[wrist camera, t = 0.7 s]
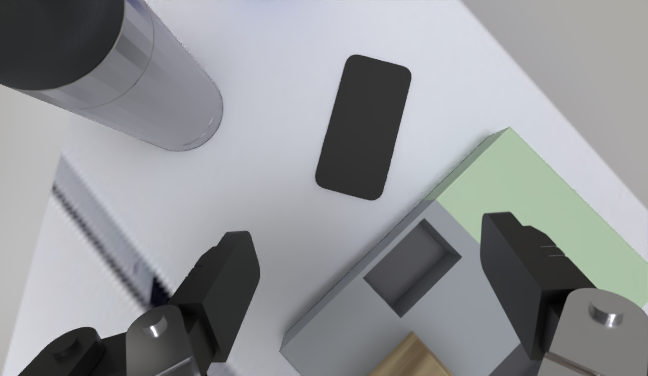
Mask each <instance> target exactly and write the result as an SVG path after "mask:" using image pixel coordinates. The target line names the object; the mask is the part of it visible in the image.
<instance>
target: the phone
mask: <svg viewBox="0 0 648 376" xmlns="http://www.w3.org/2000/svg"><path fill="white" fill-rule="evenodd" d="M410 82H411V72H410V71H409V69H407V68H406V67H404V66H400V65H397V64H393V63H389V62H385V61H381V60H377V59H373V58H370V57H366V56H362V55H352V56H350V57H349V58H348V59H347V61H346V64H345V67H344V71H343V75H342V78H341V82H340V86H339V90H338V93H337V97H336V101H335V104H334V108H333V112H332V115H331V119H330V123H329V126H328V130H327V134H326V136H325V140H324V143H323V147H322V152H321V156H320V159H319V163H318V167H317V171H316V176H315V178H316V182H317V184H318V185H319V186H321V187H322V188H325V189H329V190H333V191H336V192H340V193H344V194H347V195H351V196H355V197H359V198H363V199H367V200H376V199H378V198H379V197H380V196H381V195H382V192H383V189H384V185H385V182H386V179H387V174H388V171H389V167H390V163H391V158H392V155H393V151H394V146H395V142H396V138H397V134H398V130H399V126H400V122H401V118H402V114H403V110H404V106H405V102H406V98H407V94H408V90H409V86H410Z"/></svg>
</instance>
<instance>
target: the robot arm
mask: <svg viewBox="0 0 648 376" xmlns="http://www.w3.org/2000/svg"><path fill="white" fill-rule="evenodd" d="M0 84H2V85H4V86H7V87H9V88H12V89H14V90H17V91H19V92H22V93H25V94H27V95H29V96H32V97H34V98H37V99H40V100H42V101H45V102H47V103H50V104H53V105H55V106H58V107H60V108H63V109H65V110H68V111H70V112H73V113H75V114H78V115H81V116H83V117H86V118H88V119H91V120H93V121H96V122H98V123H101V124H103V125H106V126H108V127H111V128H113V129H116V130H118V131H121V132H123V133H126V134H129V135H131V136H134V137H136V138H139V139H141V140H143V141H146V142H149V143H151V144H154V145H156V146H159V147H161V148H164V149H167V150H172V151H185V150H190V149H194V148H196V147H198V146H200V145H202V144H203V143H205V142H206V141H207V140H209V138H210V137H211V136H212V135H213V134H214V133H215V131H216V129H217V128H218V126H219V124H220V121H221V118H222V110H223V105H222V98H221V95H220V92H219V90H218V88H217V87H216V85H215V83H214V82H213V81H212V80H211V79H210V77H209V76H208V75H207V74H206V73H205V72H204V70H203V69H202V68H201V67H200V66H199V64H198V63H197V62H196V61H195V60H194V58H193V57H192V56H191V55H190V54H189V53H188V51H187V50H186V49H185V48H184V47H183V46H182V44H181V43H180V42H179V41H178V40H177V38H176V37H175V36H174V35H173V34H172V33H171V31H170V30H169V29H168V28H167V27H166V26H165V24H164V23H163V22H162V21H161V20H160V18H159V17H158V16H157V15H156V14H155V13H154V11H153V10H152V9H151V8H150V7H149V6H148V4H147V3H146V2H145V1H144V0H0ZM480 261H481V265H482V269H483V271H484V273H485V275H486V277H487V279H488V281H489V283H490V285H491V287H492V289H493V291H494V292H495V294H496V296H497V298H498V300H499V302H500V304H501V306H502V308H503V310H504V312H505V313H506V315H507V317H508V319H509V321H510V323H511V325H512V327H513V329H514V331H515V332H516V334H517V336H518V338H519V340H520V342H521V344H522V346H523V348H524V350H525V351H526V353H527V355H528V357H529V359H530V360H543V361H542V364H541V366H540V369H539V372H538V375H537V376H648V316H647V314H646V313H645V312H644V311H643V310H642V309H641V308H640V307H639V306H638V305H636V304H635V303H634V302H632V301H630V300H629V299H627V298H625V297H623V296H621V295H618V294H616V293H613V292H610V291H606V290H602V289H598V288H597V287H596V286H595V285H594V284H593V283H592V282H591V281H590V280H589V279H588V278H587V277H586V276H585V275H584V273H583V272H582V271H581V270H580V269H579V268H578V267H577V266H576V265H575V264H574V263H573V262H572V261H571V260H570V259H569V258H568V257H566V256H565V253H564V252H563V251H562V250H561V249H560V248H559V247H557V245H556V244H555V243H554V242H553V241H552V240H551V238H550V237H549V236H548V235H547V234H545V233H543V232H542V231H540V230H538V229H536V228H534V227H532V226H531V225H529V226H523V225H522V224H521V223H520V222H519V221H518V219H517V218H516V217H515V216H514V215H513V214H512V213H511V212H510V211H506V212H493V213H484V214H483V216H482V225H481V242H480ZM259 278H260V267H259V263H258V259H257V255H256V252H255V248H254V245H253V241H252V238H251V235H250V233H249V232H248V231H235V232H227V233H225V235H224V236H223V237H222V239H221V240H220V242H219V243H218V245H217V246H215V247H212V248H211V249H210V250H208V251H207V252H206V253H204V254H203V255H202V256H201V257H200V259H199V260H198V261H197V263H196V264H195V266H194V268H192V270H191V271H190V272H189V274H188V276H187V277H186V278H185V279H184V281H183V282H182V284H181V285H180V286H179V288H178V289H177V291H176V292H175V293H174V295H173V296H172V297H171V299H170V300H169V302H168V303H167V304H166V305H164V306H159V307H156V308H154V309H151V310H149V311H147V312H146V313H144V314H143V315H141V316H140V317H139V318H137V319H136V320H135V321H134V322H133V323H132V325H131V326H130V327H129V329H128V331H127V332H125V333H121V334H118V335H114V336H111V337H108V338H104V339H101V338H100V336H99V335H98V333H97V331H96V330H95V329H94V328H92V327H82V328H78V329H74V330H72V331H69V332H67V333H65V334H63V335H61V336H60V337H58V338H57V339H55V340H54V341H52V342H51V343H50V344H48V345H47V346H46V347H45V348H44V349H43V350H42V351H41V352H40V353H39V354H38V355H37V356H36V357H35V358H34V359H33V360H32V361H31V363H30V364H29V365H28V366H27V367H26V368H25V369H24V370H23V371H22V372H21V373H20V374H19V375H18V376H209V375H208V373H207V370H208V368H209V366H210V364H211V362H226V360H227V358H228V356H229V353H230V351H231V348H232V346H233V343H234V341H235V339H236V336H237V334H238V331H239V329H240V326H241V324H242V322H243V319H244V317H245V314H246V312H247V309H248V307H249V305H250V302H251V300H252V297H253V295H254V292H255V290H256V287H257V285H258V282H259Z"/></svg>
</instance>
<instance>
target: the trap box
mask: <svg viewBox="0 0 648 376" xmlns="http://www.w3.org/2000/svg"><path fill="white" fill-rule="evenodd" d="M506 211H510V212H511V213H512V214H513V215H514V216H515V217H516V218H517V219H518V221H519V222H520V223H521V224H522V225H523V226H529V225H531V226H532V227H534V228H536V229H538V230H540V231H542V232H543V233H545V234H547V235H548V236H549V237H550V238H551V240H552V241H553V242H554V243H555V244H556V245H557V247H559V248H560V249H561V250H562V251H563V252H564V253H565V256H566V257H568V258H569V259H570V260H571V261H572V262H573V263H574V264H575V265H576V266H577V267H578V268H579V269H580V270H581V271H582V272H583V273H584V275H585V276H586V277H587V278H588V279H589V280H590V281H591V282H592V283H593V284H594V285H595V286H596V287H597V288H598V289H602V290H606V291H610V292H613V293H616V294H618V295H621V296H623V297H625V298H627V299H629V300H630V301H632V302H634V303H635V304H636V305H638V306H639V307H640V308H642V307H643V306H644V305H645V304H646V303H647V302H648V263H647V262H646V261H645V260H644V259H643V258H642V257H641V256H640V255H639V254H638V253H637V252H636V251H635V250H634V249H633V248H632V247H631V246H630V245H629V244H628V243H627V242H626V241H625V240H624V239H623V238H622V237H621V236H620V235H619V234H618V233H617V232H616V231H615V230H614V229H613V228H612V227H611V226H610V225H609V224H608V223H607V222H606V221H605V220H604V219H603V218H602V217H601V216H600V215H599V214H598V213H597V212H596V211H595V210H594V209H593V208H592V207H591V206H590V205H589V204H588V203H587V202H586V201H585V200H584V199H583V198H582V197H581V196H580V195H579V194H578V193H577V192H576V191H574V190H573V189H572V188H571V187H570V186H569V185H568V184H567V183H566V182H565V181H564V180H563V179H562V178H561V177H560V176H559V175H558V174H557V173H556V172H555V171H554V170H553V169H552V168H551V167H550V166H549V165H548V164H547V163H546V162H545V161H544V160H543V159H542V158H541V157H540V156H539V155H538V154H537V153H536V152H535V151H534V150H533V149H532V148H531V147H530V146H529V145H528V144H527V143H526V142H525V141H524V140H523V139H522V138H521V137H520V136H519V135H518V134H517V133H516V132H515V131H514V130H513V129H512V128H511V127H508V128H506V129H504V130H502V131H499V132H497V133H495V134H493V135H491V136H489V137H488V138H487V139H485V140H484V141H483V142H482V143H481V144H480V145H479V146H478V147H477V148H476V149H475V150H474V151H473V152H472V153H471V154H470V155H469V156H468V157H467V158H466V159H465V160H464V161H463V162H462V163H461V164H460V165H459V166H458V167H457V168H456V169H455V170H454V171H453V172H452V173H450V174H449V175H448V176H447V177H446V178H445V179H444V180H443V181H442V182H441V183H440V184H439V185H438V186H437V187H436V188H435V189H434V190H433V191H432V192H431V193H430V194H429V195H428V196H427V197H426V198H425V199H424V200H423V201H422V202H421V203H420V204H419V205H418V206H417V207H416V208H414V209H413V210H412V211H411V212H410V213H409V214H408V215H407V216H406V217H405V218H404V219H403V220H402V221H401V222H400V223H399V224H398V225H397V226H396V227H395V228H394V229H393V230H392V231H391V232H390V233H389V234H388V235H387V236H386V237H385V238H384V239H383V240H382V241H381V242H379V243H378V244H377V245H376V246H375V247H374V248H373V249H372V250H371V251H370V252H369V253H368V254H367V255H366V256H365V257H364V258H363V259H362V260H361V261H360V262H359V263H358V264H357V265H356V266H355V267H354V268H353V269H352V270H351V271H350V272H349V273H348V274H347V275H346V276H345V277H343V278H342V279H341V280H340V281H339V282H338V283H337V284H336V285H335V286H334V287H333V288H332V289H331V290H330V291H329V292H328V293H327V294H326V295H325V296H324V297H323V298H322V299H321V300H320V301H319V302H318V303H317V304H316V305H315V306H314V307H313V308H312V309H311V310H310V311H308V312H307V313H306V314H305V315H304V316H303V317H302V318H301V319H300V320H299V321H298V322H297V323H296V324H295V325H294V326H293V327H292V328H291V329H290V330H289V331H288V332H287V333H286V334H285V335H284V338H283V341H282V344H281V347H280V351H279V352H280V353H281V354H282V355H283V356H284V357H285V358H286V360H287V361H288V362H289V363H290V364H291V365H292V366H293V367H294V368H295V369H296V371H297V372H298V373H299V374H300V375H301V376H368V375H369V374H370V373H371V372H372V371H373V370H374V369H375V368H376V367H377V366H378V365H379V364H380V363H381V362H382V361H383V360H384V359H385V358H386V357H387V356H388V355H389V354H390V353H391V352H392V351H393V350H394V349H395V348H396V347H397V346H398V345H399V344H400V343H401V342H402V341H403V340H404V339H405V338H406V337H407V336H408V335H409V334H410V333H411V332H412V331H413V332H414V333H415V334H416V335H417V336H418V337H419V338H420V339H421V341H422V342H423V343H424V344H425V345H426V346H427V347H428V348H429V349H430V350H431V351H432V352H433V353H434V354H435V355H436V356H437V358H438V359H439V360H440V361H441V362H442V363H443V364H444V365H445V366H446V367H447V368H448V369H449V370H450V371H451V372H452V373H453V374H454V376H537V375H538V372H539V369H540V366H541V364H542V361H543V360H530V359H529V357H528V355H527V353H526V351H525V350H524V348H523V346H522V344H521V342H520V340H519V338H518V336H517V334H516V332H515V331H514V329H513V327H512V325H511V323H510V321H509V319H508V317H507V315H506V313H505V312H504V310H503V308H502V306H501V304H500V302H499V300H498V298H497V296H496V294H495V292H494V291H493V289H492V287H491V285H490V283H489V281H488V279H487V277H486V275H485V273H484V271H483V269H482V265H481V261H480V242H481V225H482V216H483V214H484V213H493V212H506Z"/></svg>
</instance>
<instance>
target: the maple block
mask: <svg viewBox="0 0 648 376" xmlns="http://www.w3.org/2000/svg"><path fill="white" fill-rule="evenodd" d="M368 376H454V374H453V373H452V372H451V371H450V370H449V369H448V368H447V367H446V366H445V365H444V364H443V363H442V362H441V361H440V360H439V359H438V358H437V356H436V355H435V354H434V353H433V352H432V351H431V350H430V349H429V348H428V347H427V346H426V345H425V344H424V343H423V342H422V341H421V339H420V338H419V337H418V336H417V335H416V334H415V333H414V332H413V331H412V332H411V333H410V334H409V335H408V336H407V337H406V338H405V339H404V340H403V341H402V342H401V343H400V344H399V345H398V346H397V347H396V348H395V349H394V350H393V351H392V352H391V353H390V354H389V355H388V356H387V357H386V358H385V359H384V360H383V361H382V362H381V363H380V364H379V365H378V366H377V367H376V368H375V369H374V370H373V371H372V372H371V373H370V374H369V375H368Z"/></svg>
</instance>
